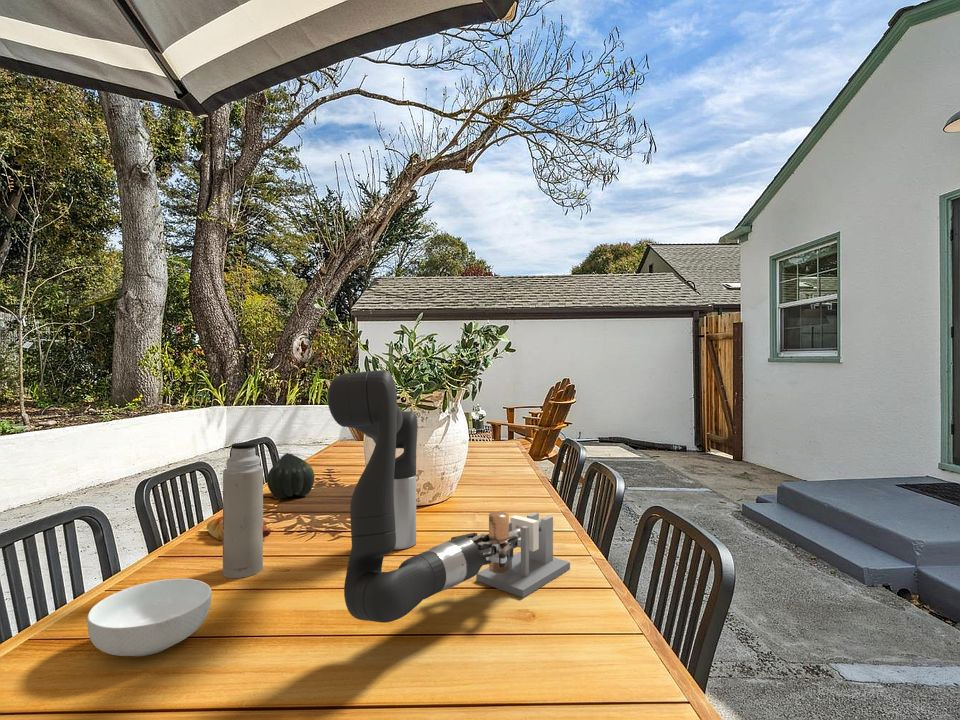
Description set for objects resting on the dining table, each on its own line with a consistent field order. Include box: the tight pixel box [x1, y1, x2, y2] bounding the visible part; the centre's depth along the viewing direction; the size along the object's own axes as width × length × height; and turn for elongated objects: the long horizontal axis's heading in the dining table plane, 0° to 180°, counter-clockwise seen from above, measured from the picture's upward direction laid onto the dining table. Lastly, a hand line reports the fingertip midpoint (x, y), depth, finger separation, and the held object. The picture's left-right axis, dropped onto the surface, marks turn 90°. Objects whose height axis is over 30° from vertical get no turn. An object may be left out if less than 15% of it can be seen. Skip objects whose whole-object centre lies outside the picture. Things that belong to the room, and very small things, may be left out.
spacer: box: [510, 515, 539, 552], centre depth 109 cm, size 2×6×6 cm, turn 50°
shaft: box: [488, 511, 545, 573], centre depth 108 cm, size 19×4×11 cm, turn 140°
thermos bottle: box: [222, 441, 264, 579], centre depth 110 cm, size 8×8×28 cm
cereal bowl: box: [86, 578, 212, 657], centre depth 82 cm, size 17×17×7 cm
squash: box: [266, 452, 315, 499], centre depth 172 cm, size 14×15×15 cm
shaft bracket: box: [475, 511, 571, 599], centre depth 109 cm, size 18×12×12 cm, turn 140°
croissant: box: [206, 515, 272, 541], centre depth 132 cm, size 21×10×8 cm, turn 71°
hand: (506, 538), depth 104 cm, fingers closed on shaft, 4 cm apart
